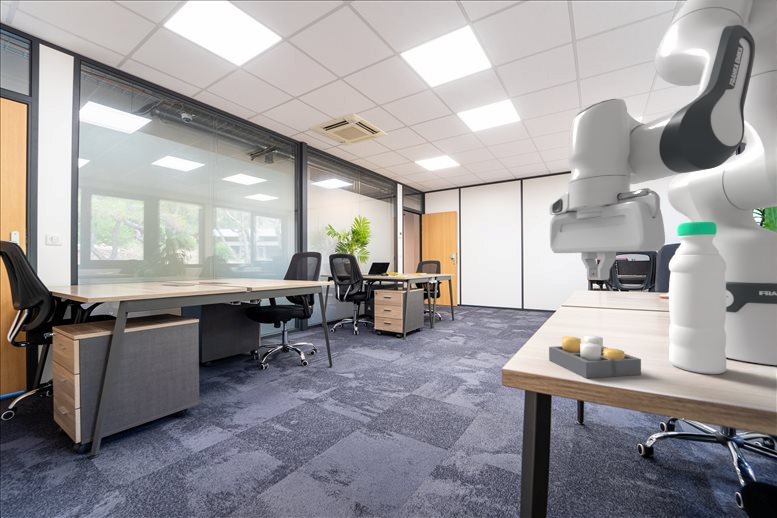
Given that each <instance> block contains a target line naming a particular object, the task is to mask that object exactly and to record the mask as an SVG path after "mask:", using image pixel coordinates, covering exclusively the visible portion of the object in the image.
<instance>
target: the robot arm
mask: <svg viewBox="0 0 777 518" xmlns="http://www.w3.org/2000/svg"><path fill="white" fill-rule="evenodd" d="M653 62H654V63H653V65H654V70H655V71H656V73H657V74H658V77H659V78H661V79H662V80H663V81H665V82H666V83H668V84H672V85H674V86H681V87H691V86H697V85H698V88H697V93H696V95H695V96H694V98H693V99H691V100H690V101H688V102H687V103H686V104H684V105H682V106H681V107H679V108H677V109H675V110H673V111H671V112H670V113H668V114H665V115H662V116H660V117H658V118H656V119H653V120H652V121H649V122H647V123H643V122H640V121H638V120H636V118H634V117H632V116H631V115H630V114H629V112H628V108H627V103H626V101H625V100H624V99H621V98H613V99H612V98H611V99H607V100H602V101H600V102H598V103H594V104H592V105H589V106H588V107H586V108H585V109H583V110H581V111H580V112H578V113H577V114H576V115H575V116H574V117H573V120H572V122H571V126H570V130H569V137H568V138H569V139H568V164H569V167H570V172H571V173H570V178H569V179H568V190H567V191H565V192H564V193H563V195H561V196H560V197H558V198H557V199H556V200H555V201H553V202H552V203H551V204H550V206H549V215H551V216H552V218H551V219H550V223H549V247H550V248H551V251H552V252H553V254H580V256H581V257H580V258H581V261H582V263H583V265H584V267H585V269H586V278H587V279H588V280H601V281H603V280H605V281H608V280H609V279H610V274H611V273H610V271H611V268H612V267H613V265H614V263H615V262H616V260H617V253H623V252H625V253H626V252H627V253H628V252H629V253H632V252H659V251H661V249H662V248H663V247H664V246H665V244H666V232H665V226H664V219H663V213H662V210H661V197H660V195H659V194H658V193H657V192H656V191H654V190H651V189H650V188H646V187H645V188H640V189H638V190H634V191H633V190H632V191H631V185H636V184H640V183H644V182H649V181H654V180H660V179H664V178H668V177H673V176H674V177H673V178H672V179H671V181H670V183H669V185H668V188H667V199H668V200H667V201H668V202H669V204H670V205H671V207H672V208H673V209H674V210H675V211H676V212H677V213H679V214H682V215H683V216H685V217H687V218H688V219H689V220H690V222H714V223H715V224H716V227H717V231H716V234H715V237H714V238H713V240H712V243H713V245H714V246H715V247H716V248H717V249H718V251H719V255H721V256H722V258H723V259H724V261H725V263H726V271H725V273H724V275H725V282H726V319H725V326H724V329H725V333H726V346H725V354H726V359H727V358H728V359H732V360H737V361H742V362H750V363H754V364H755V363H756V364H762V365H771V366H777V231H774V230H771V229H768V228H764V227H762V226H761V225H759V224H758V222H757V221H756V219H755V216H754V212H753V210H759V209H768V208H775V207H777V0H686V1H685V2H684V4H683V5H682V6H681V7H680V9H679V10H678V12H677V13H676V15H675V16H674V18H673V19H672V21H671V22H670V24H669V26H668V28H667V30H666V31H665V33H664V35H663V37H662V39H661V40H660V42H659V45H658V47H657V50H656V52H655V56H654V61H653ZM741 143H744V144H746V145H745V149H744V150H743V151H742V152H741V153H739V154H737V155H733V154H735V152H736V151H737V149H738V148H740V145H741ZM598 259H599V260H600V261H599V263H598V264H597V261H596V260H598Z"/></svg>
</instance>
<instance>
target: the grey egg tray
mask: <svg viewBox="0 0 777 518" xmlns="http://www.w3.org/2000/svg"><path fill="white" fill-rule="evenodd" d="M605 348H607V347H606V346H604V345H603V349H605ZM548 361H550V362H553V363H554V364H556V365H558V366H560V367H562V368H564V369H566V370H568V369H569V370H568V371H570V370H571V371H570V372H573V373H574V374H577V375H578V376H579V377H580V376H581V377H582V378H585V379H594V378H609V377H621V376H623V377H624V376H636V375H637V376H638V375H641V374H642V359H641V358H639V357H636V356H633V355H630V354H627V353H624V359H616V360H613V359H610V358H608V357H605V356H603V351H601V360H600V361H588V360H585V359H583V358H580V352H579V353H568V352H566V351H563V350H562V345H559V346H557V345H556V346H549V347H548Z"/></svg>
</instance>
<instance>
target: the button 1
mask: <svg viewBox="0 0 777 518" xmlns="http://www.w3.org/2000/svg"><path fill="white" fill-rule="evenodd" d="M561 343H562V344H561V346H562V350H563V351H566V352H568V353H579V352H580V344H581V343H582V339H581V338H579V337H574V336H562V337H561Z"/></svg>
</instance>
